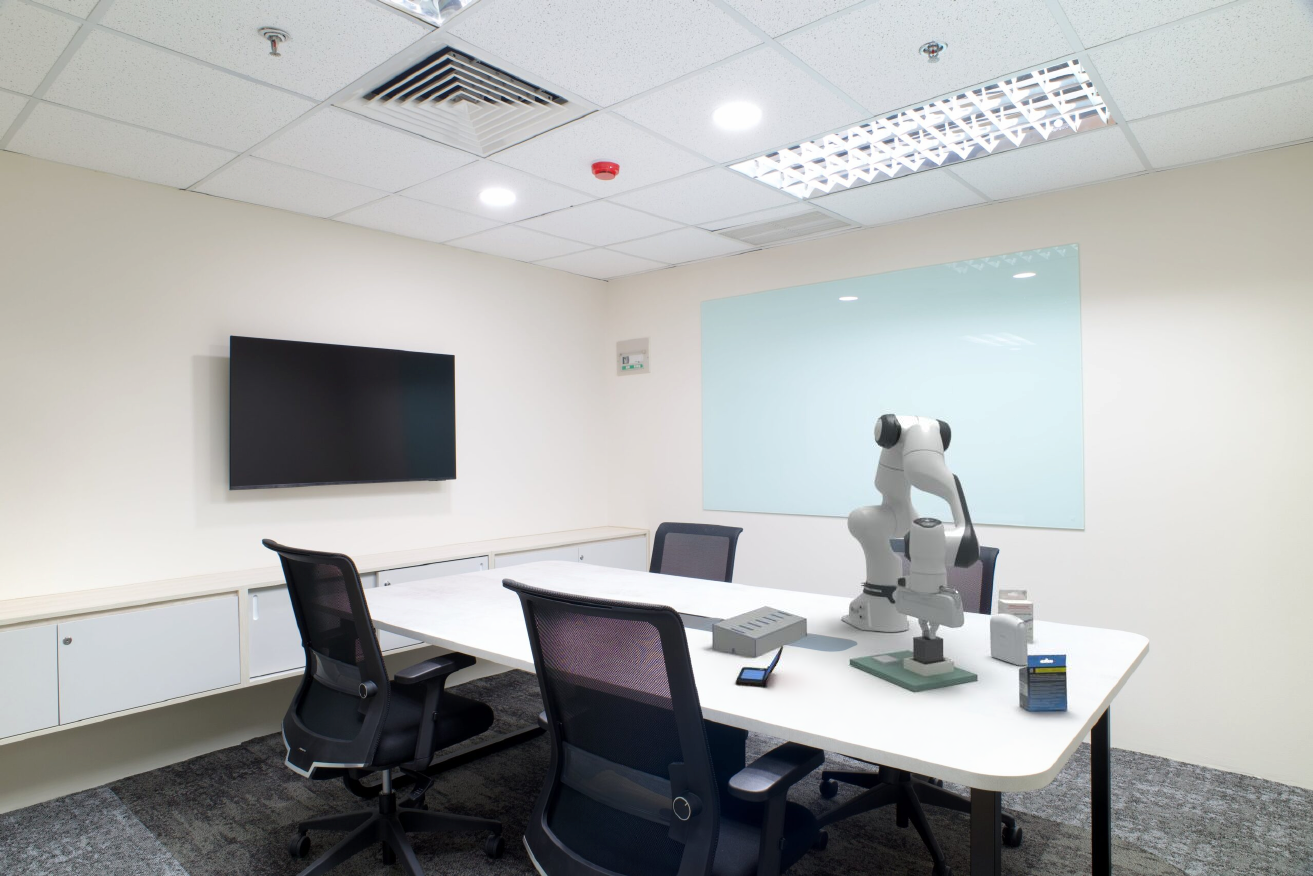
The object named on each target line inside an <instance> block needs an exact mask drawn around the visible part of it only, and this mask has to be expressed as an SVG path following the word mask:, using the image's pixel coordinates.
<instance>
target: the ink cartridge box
mask: <svg viewBox="0 0 1313 876" xmlns="http://www.w3.org/2000/svg"><path fill="white" fill-rule="evenodd" d="M1012 593H1014V594H1017V595H1013V594H1012ZM1010 594H1011V595H1010ZM1027 597H1028V591H1027V589H1004V588H1003V589H999V590H998V601H997V614H1009V615H1013V616H1015V617H1017V618H1019V619H1021V620H1022V621H1024V622H1025V623H1026V626H1027V644H1029V643H1030V644H1031V643H1034V603H1033V602H1031V601H1029V600H1028V599H1027Z"/></svg>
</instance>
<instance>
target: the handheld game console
mask: <svg viewBox="0 0 1313 876" xmlns="http://www.w3.org/2000/svg"><path fill="white" fill-rule="evenodd" d="M783 649H784V646H782V647H779V650H778V651H777V653H776V655H775V657H774V658H773V660H772V662H771V663H770V664H769V665H767V667H752V666H751V667H750V666H744V667H742V668H741V669H740V671H739V674H738V676H737V677H736V680H735V685H737V686H745V687H756V688H757V687H758V688H766V687H767V683H768V679H769V678H770V676H771V674H772V673H773V672H774V670H775V669H776V666H777V665H778V663H779V661H780V659H781V655H782V653H783Z"/></svg>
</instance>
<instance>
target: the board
mask: <svg viewBox="0 0 1313 876" xmlns="http://www.w3.org/2000/svg"><path fill="white" fill-rule="evenodd" d="M849 665H850V666H852V667H854V668H857V669H859V670H861V671H863V672H865V673H869V674H871V675H872V676H874V677H878V678H880V679H883V680H884V681H887V682H889V683H891V684H894V685H897V686H899V687H901V688H903V689H904V688H905V689H906V690H909V691H911V692H913V693H917V692H923V691H929V690H934V689H939V688H943V687H946V688H947V687H951V686H956V685H961V684H967V683H973V682H977V681H978V674H977V673H974V672H971V671H969V670H965V669H963V668H961V667H960V668H959V667H957V666H955V661H954V660H952V659H951V658H949V657H946V656H943V662H938V663H932V664H926V665H925V664H922V663H919V662H916V661H914V660H913V650H909V649H908V650H907V649H906V650H902V651H895V652H889V653H888V652H887V653H882V654H875V655H874V654H873V655H868V656H861V657H855V658H854V657H853V658H850V659H849Z"/></svg>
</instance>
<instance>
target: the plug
mask: <svg viewBox="0 0 1313 876" xmlns="http://www.w3.org/2000/svg"><path fill="white" fill-rule="evenodd" d="M912 640H913V645H912V646H913V647H912V648H913V649H912V652H913V660H914V661H916V662H919V663H922V664H925V665H926V664H932V663H938V662H943V657H944V638H942V637H939V636H937V635H936V638H935V639H932V640H931V639H928V638H925V637H923V636H922V635H921V636H915V637H913V639H912Z"/></svg>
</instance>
